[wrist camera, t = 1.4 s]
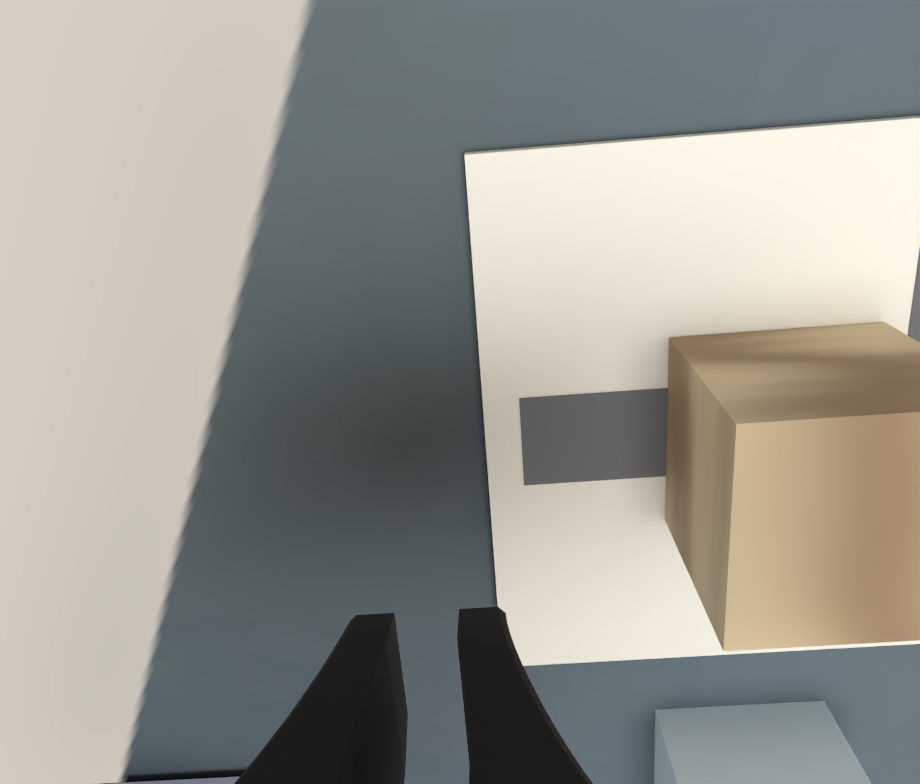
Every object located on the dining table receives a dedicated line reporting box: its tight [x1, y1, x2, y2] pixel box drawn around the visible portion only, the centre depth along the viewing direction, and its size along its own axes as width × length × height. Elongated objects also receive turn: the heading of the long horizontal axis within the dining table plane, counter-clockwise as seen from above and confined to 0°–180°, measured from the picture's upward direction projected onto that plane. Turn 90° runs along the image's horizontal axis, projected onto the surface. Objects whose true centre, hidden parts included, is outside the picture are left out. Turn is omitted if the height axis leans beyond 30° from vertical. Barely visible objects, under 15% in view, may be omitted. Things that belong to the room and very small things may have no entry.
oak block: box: [665, 322, 920, 651], centre depth 17 cm, size 5×5×5 cm
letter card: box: [464, 115, 920, 666], centre depth 20 cm, size 14×14×1 cm
